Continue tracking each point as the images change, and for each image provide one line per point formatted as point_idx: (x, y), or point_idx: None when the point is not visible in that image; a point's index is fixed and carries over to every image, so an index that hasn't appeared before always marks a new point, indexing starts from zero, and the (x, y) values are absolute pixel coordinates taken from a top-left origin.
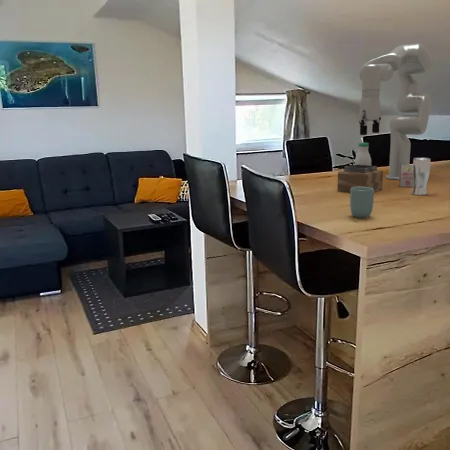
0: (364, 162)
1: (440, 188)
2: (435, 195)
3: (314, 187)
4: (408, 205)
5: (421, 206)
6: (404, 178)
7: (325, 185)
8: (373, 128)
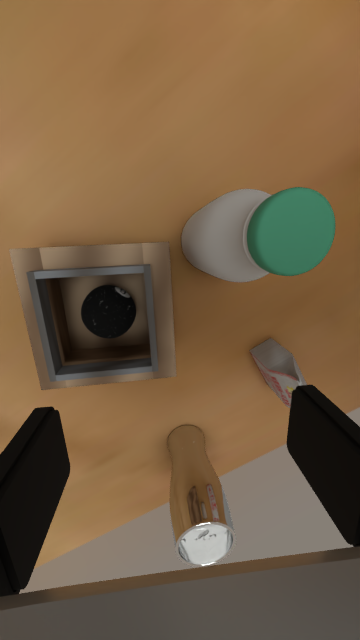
0: (209, 269)
1: None
2: None
3: (32, 113)
4: None
5: None
6: (267, 374)
7: (107, 121)
8: (319, 432)
